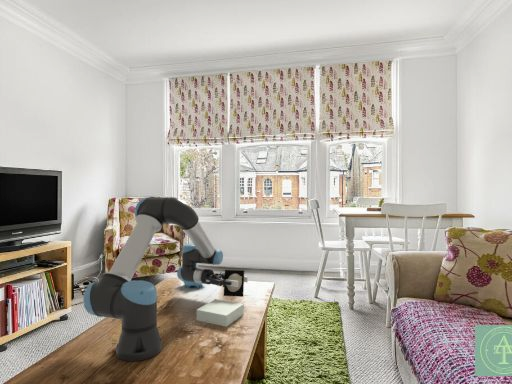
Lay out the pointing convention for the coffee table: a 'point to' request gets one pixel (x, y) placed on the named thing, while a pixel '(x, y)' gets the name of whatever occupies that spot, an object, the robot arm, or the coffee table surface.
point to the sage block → (220, 312)
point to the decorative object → (236, 276)
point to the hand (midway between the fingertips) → (242, 281)
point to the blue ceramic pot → (192, 282)
